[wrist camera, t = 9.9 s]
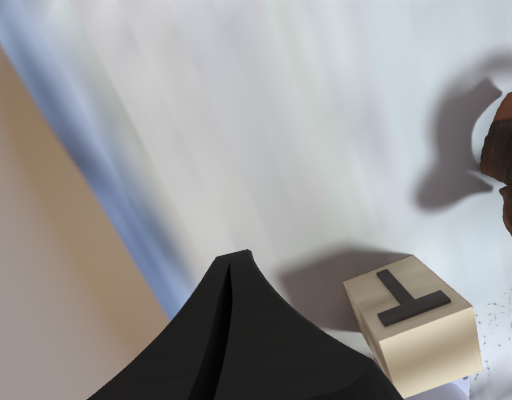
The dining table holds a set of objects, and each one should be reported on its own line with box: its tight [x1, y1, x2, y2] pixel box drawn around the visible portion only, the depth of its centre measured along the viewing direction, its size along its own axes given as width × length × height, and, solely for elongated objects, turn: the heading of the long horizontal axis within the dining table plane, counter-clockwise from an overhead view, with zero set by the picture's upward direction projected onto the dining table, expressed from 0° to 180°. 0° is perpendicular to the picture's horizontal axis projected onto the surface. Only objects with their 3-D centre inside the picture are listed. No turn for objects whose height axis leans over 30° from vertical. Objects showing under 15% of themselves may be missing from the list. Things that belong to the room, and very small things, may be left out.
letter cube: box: [343, 255, 483, 399], centre depth 21 cm, size 6×6×6 cm
